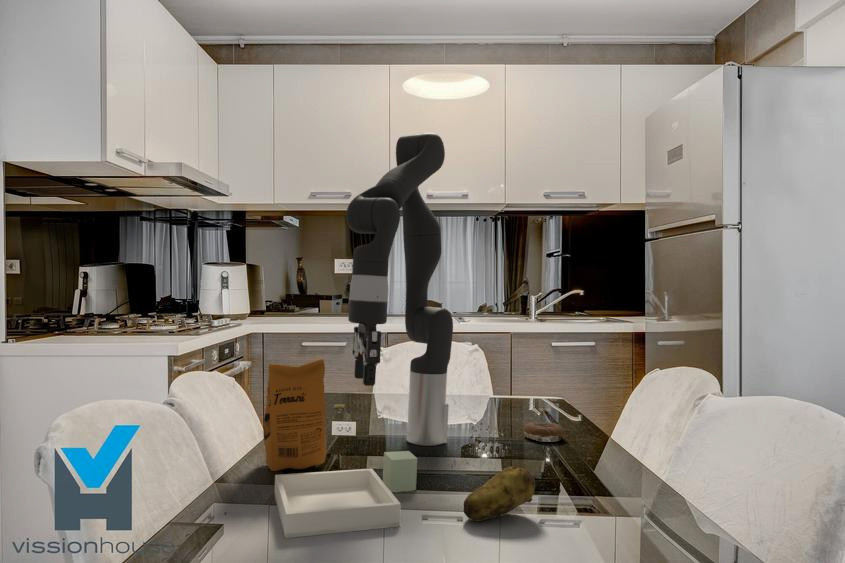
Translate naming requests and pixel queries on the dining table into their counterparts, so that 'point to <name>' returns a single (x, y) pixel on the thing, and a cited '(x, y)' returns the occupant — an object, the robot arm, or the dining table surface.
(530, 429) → the donut
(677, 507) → the dining table surface
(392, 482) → the green cube
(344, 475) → the bin
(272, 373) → the coffee package
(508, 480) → the potato
